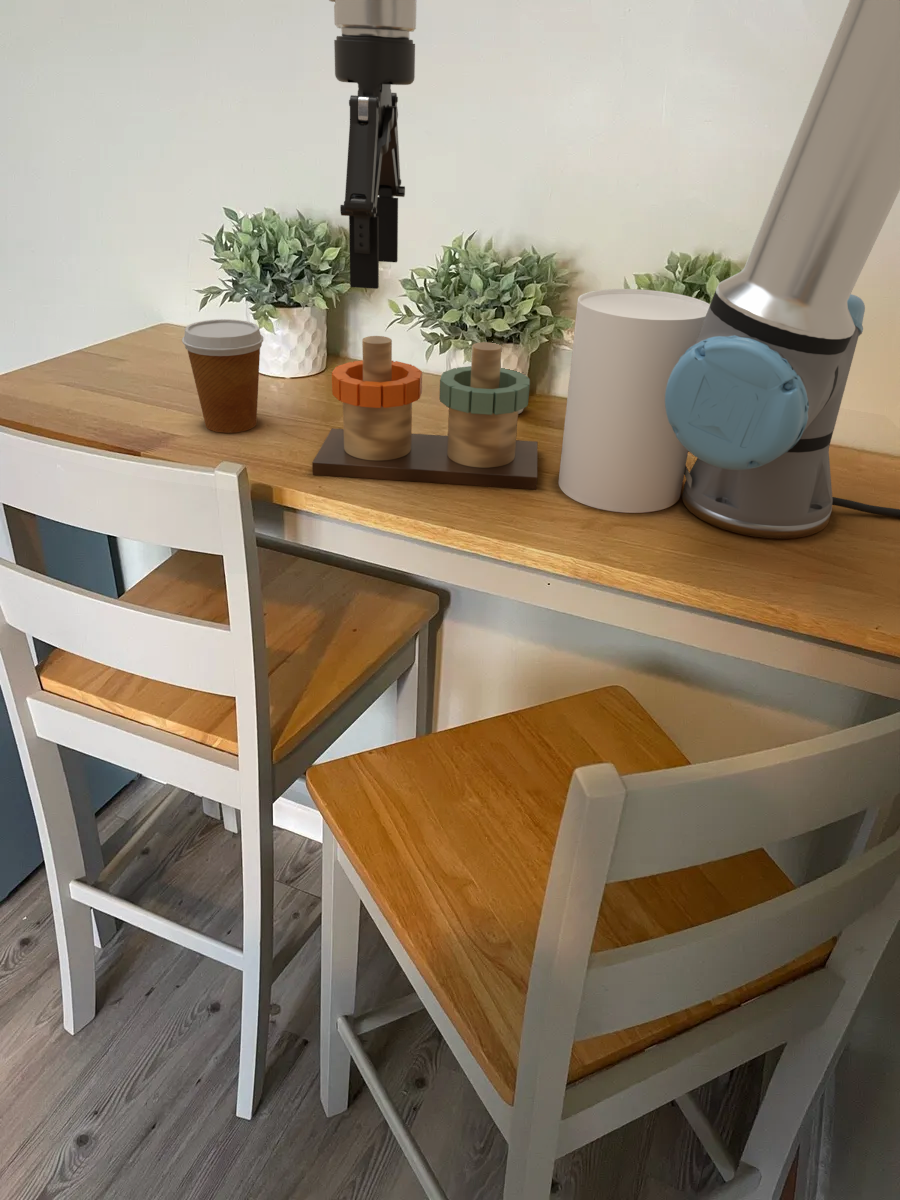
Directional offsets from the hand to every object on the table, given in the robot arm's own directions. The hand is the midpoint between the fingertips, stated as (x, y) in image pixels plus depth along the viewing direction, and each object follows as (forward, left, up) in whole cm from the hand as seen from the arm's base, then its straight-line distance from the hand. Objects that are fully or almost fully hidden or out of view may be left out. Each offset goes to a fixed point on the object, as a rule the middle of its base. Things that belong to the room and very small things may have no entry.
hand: (375, 273), depth 94 cm
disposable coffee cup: (+20, -8, -21) cm, 30 cm away
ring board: (-6, 0, -21) cm, 22 cm away
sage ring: (-12, 0, -13) cm, 18 cm away
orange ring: (0, 0, -13) cm, 13 cm away
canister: (-28, +3, -21) cm, 35 cm away
